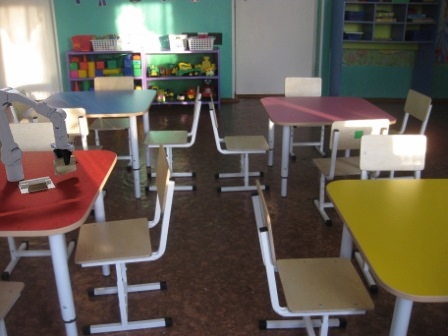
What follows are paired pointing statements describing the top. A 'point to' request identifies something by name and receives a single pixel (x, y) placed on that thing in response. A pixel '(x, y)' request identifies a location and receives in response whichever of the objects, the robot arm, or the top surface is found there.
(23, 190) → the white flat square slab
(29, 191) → the offcut bottom
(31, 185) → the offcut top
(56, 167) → the birch sheet
